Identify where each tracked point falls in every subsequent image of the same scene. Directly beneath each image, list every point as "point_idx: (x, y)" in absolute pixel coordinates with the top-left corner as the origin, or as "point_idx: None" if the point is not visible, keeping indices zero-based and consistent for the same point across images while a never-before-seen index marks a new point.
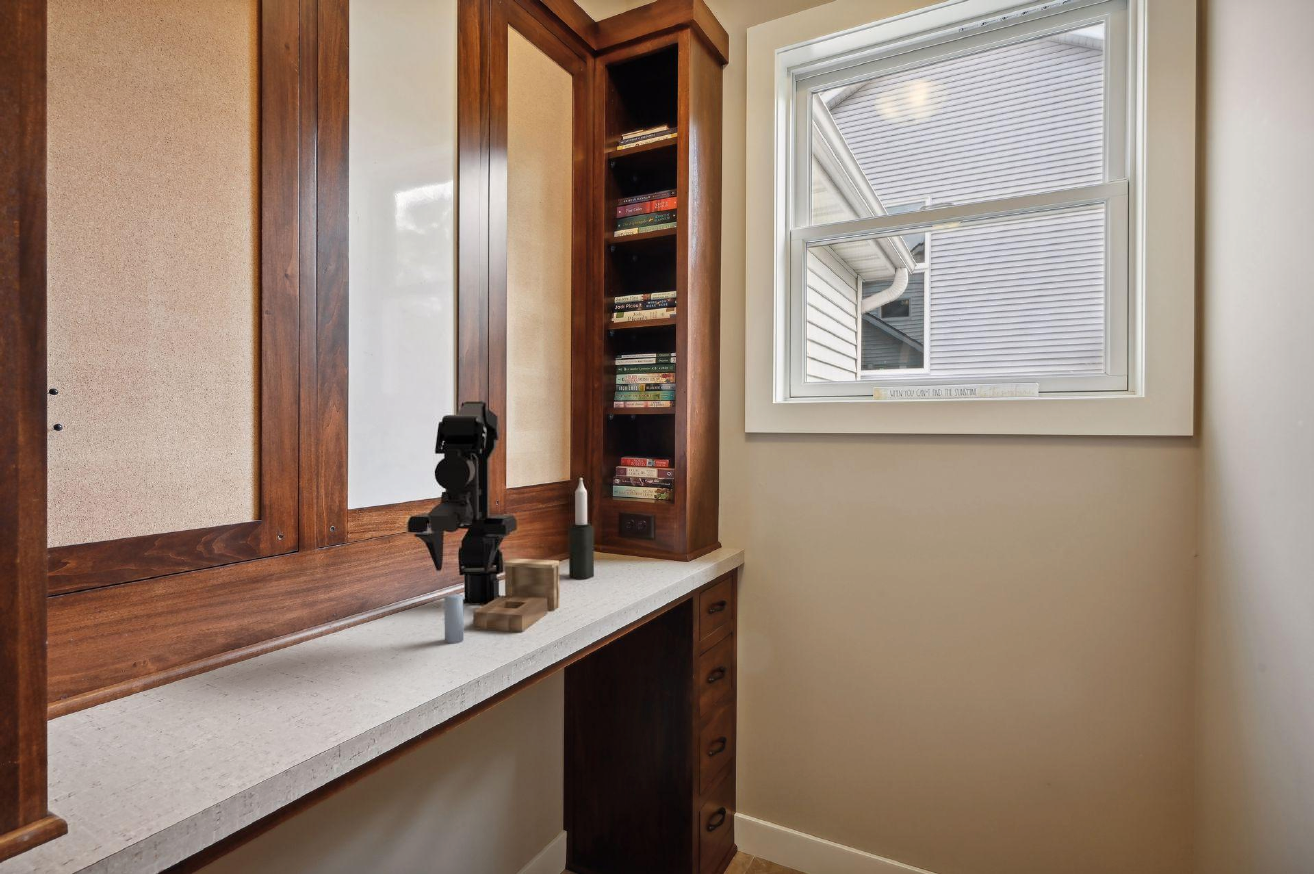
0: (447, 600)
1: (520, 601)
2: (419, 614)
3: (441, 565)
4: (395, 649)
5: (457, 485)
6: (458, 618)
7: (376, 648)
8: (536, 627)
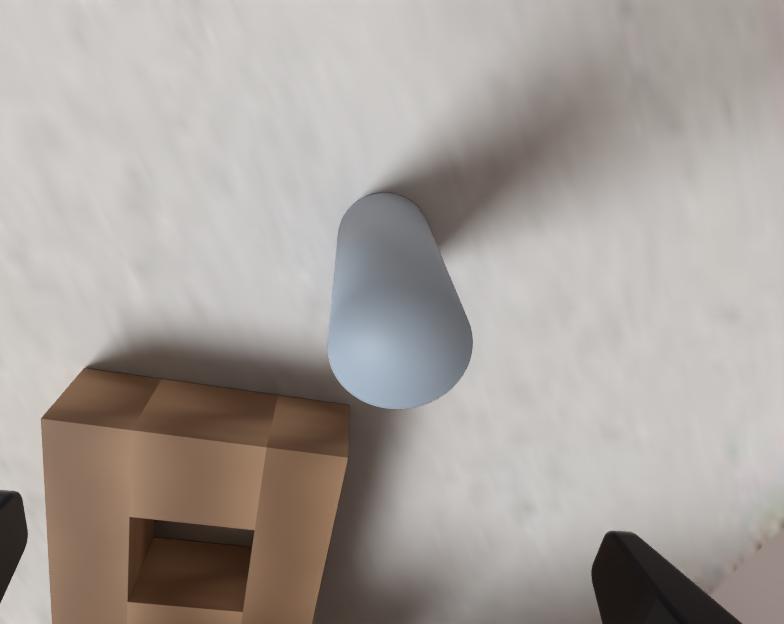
0: (428, 280)
1: (166, 612)
2: None
3: (607, 616)
4: (652, 91)
5: None
6: (347, 248)
7: (754, 105)
8: None
